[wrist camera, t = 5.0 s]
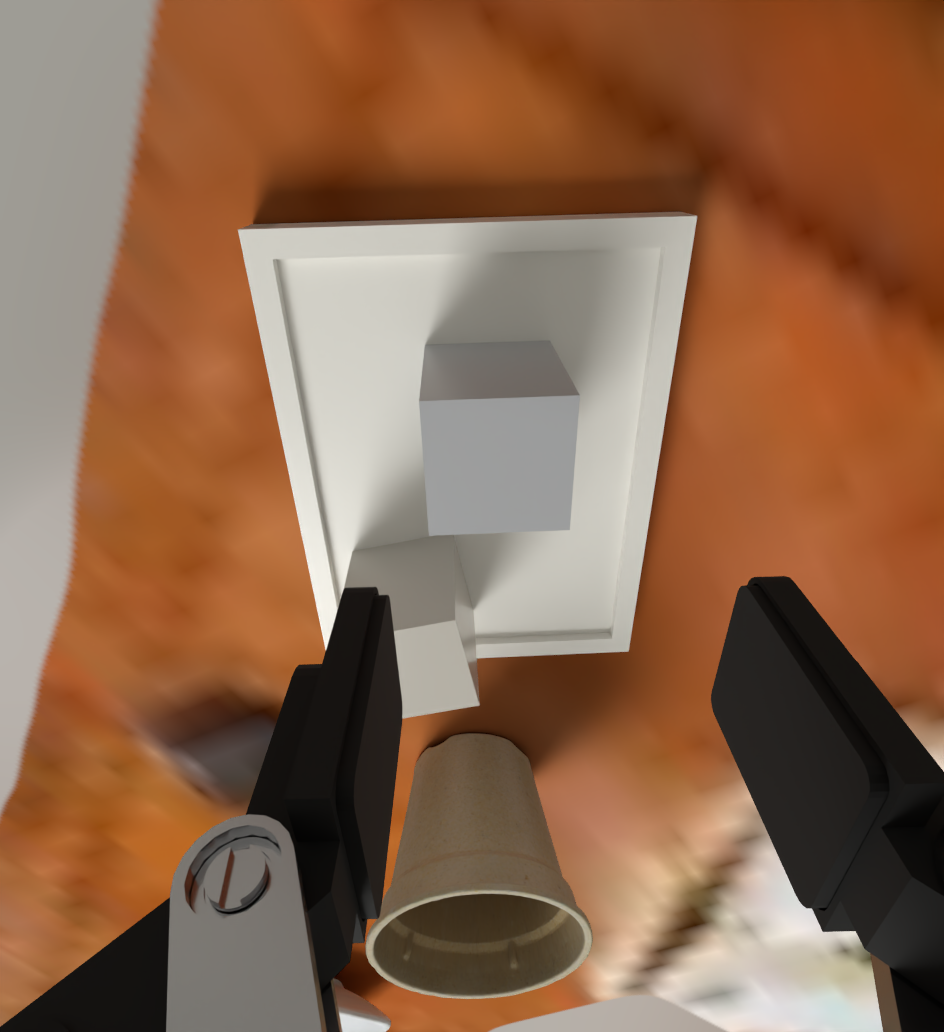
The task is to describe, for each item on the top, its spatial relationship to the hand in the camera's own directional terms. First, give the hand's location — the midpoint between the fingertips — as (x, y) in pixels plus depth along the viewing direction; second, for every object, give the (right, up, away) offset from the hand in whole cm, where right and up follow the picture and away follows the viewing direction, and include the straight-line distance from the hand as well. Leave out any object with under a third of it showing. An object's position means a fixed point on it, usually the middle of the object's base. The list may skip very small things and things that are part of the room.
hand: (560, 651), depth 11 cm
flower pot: (-2, -11, +22) cm, 24 cm away
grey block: (-1, +6, +10) cm, 11 cm away
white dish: (-1, +4, +12) cm, 13 cm away
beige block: (-4, 0, +13) cm, 14 cm away
